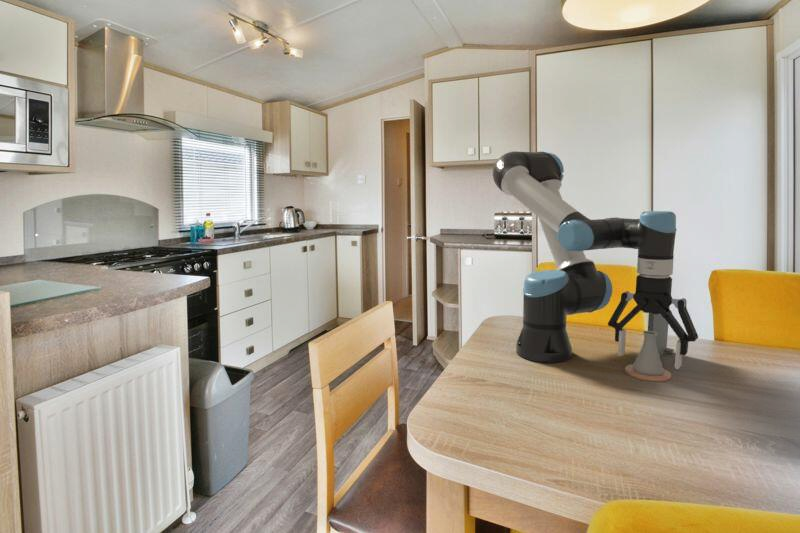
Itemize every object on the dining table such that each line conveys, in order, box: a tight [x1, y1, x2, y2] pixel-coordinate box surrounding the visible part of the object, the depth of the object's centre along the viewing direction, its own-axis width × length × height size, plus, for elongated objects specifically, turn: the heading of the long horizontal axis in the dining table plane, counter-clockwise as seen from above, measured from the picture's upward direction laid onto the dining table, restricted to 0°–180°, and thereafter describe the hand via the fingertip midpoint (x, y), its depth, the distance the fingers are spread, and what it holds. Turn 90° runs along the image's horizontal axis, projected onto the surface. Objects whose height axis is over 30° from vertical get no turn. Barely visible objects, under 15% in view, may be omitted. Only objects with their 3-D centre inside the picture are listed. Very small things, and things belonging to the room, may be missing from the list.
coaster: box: [624, 363, 672, 383], centre depth 111 cm, size 10×10×1 cm
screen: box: [647, 305, 675, 357], centre depth 121 cm, size 5×14×14 cm, turn 135°
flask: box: [632, 330, 664, 375], centre depth 110 cm, size 7×7×10 cm
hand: (648, 360), depth 111 cm, fingers open, 12 cm apart
